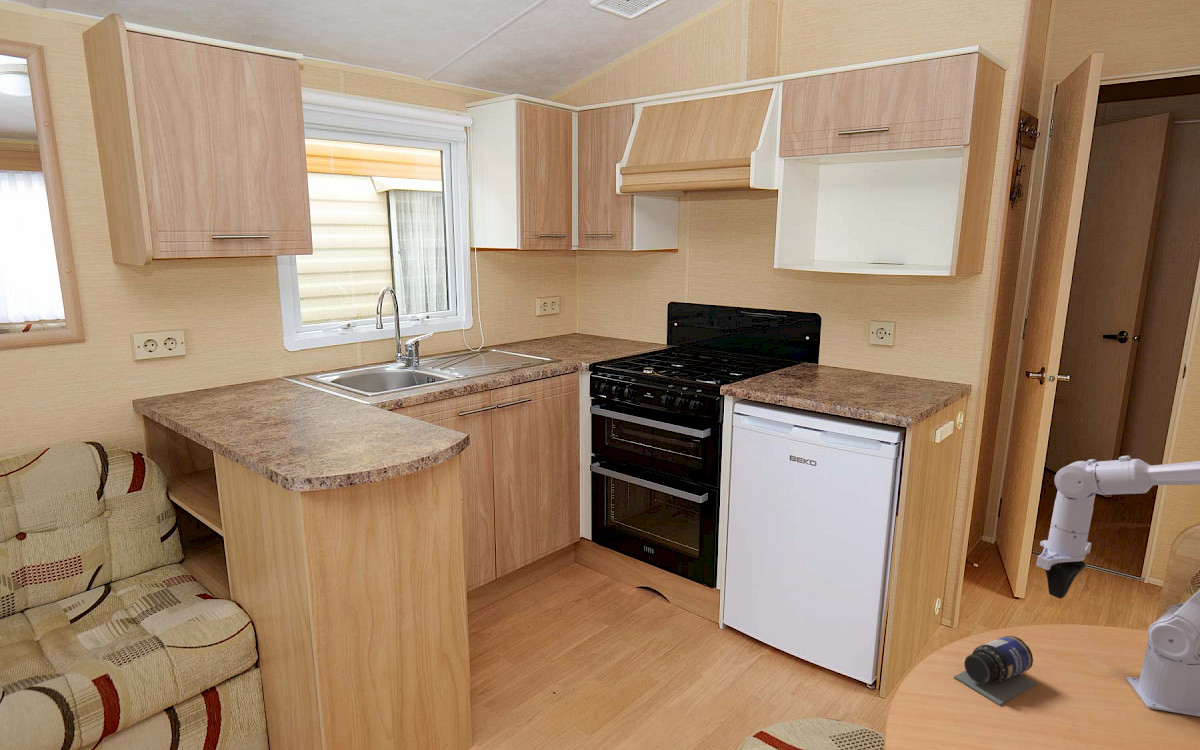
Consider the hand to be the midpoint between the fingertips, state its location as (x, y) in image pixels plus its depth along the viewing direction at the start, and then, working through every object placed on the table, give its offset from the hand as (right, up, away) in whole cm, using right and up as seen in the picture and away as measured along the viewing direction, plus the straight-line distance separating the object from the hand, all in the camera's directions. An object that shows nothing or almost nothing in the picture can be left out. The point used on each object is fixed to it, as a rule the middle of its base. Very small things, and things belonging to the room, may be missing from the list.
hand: (1056, 595), depth 128 cm
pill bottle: (-11, -8, -6) cm, 15 cm away
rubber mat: (-16, -12, -8) cm, 22 cm away
